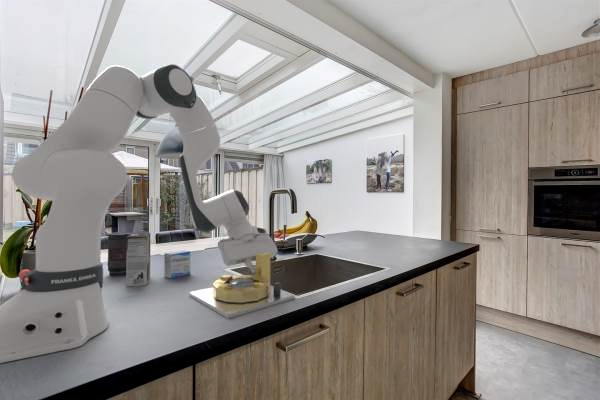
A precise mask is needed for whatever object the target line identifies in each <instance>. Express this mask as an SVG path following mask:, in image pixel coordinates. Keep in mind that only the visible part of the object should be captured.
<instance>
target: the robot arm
mask: <svg viewBox="0 0 600 400" xmlns="http://www.w3.org/2000/svg"><path fill="white" fill-rule="evenodd" d="M166 114H168V115H169V116H170V117H171V118H172V119H173V121H174V122H175V124H176V127H177V131H178V132H179V134H180V136H181V137H180V138H181V139H182V145H183V146H182V147H183V151H182V153H181V154H180V155H179V166H180V167H179V168H180V170H181V171H180V172H181V177H182V180H183V184H184V189H185V193H186V196H187V199H188V200H187V201H188V204H189V210H190V212H189V213H190V219H191V223H192V225H193V226H194V228H195V229H196V230H197V231H199V232H202V233H206V234H209V233H211V232H212V231H214V230H216V229H218V228H219V227H221V226H223V228H224V229H225V230H226V234H227V236H228V238H221V239H220V240H219V241H218V242H217V247H218V249H219V251H220V254H221V258H222V261H223V263H224V265H225V266H227V267H229V266H234V265H235V266H236V265H241V264H244V265H245V266H246V267H247V268H248V269H249V270H251V273H252V274H254V273H255V274H256V264H254V263H252V262H256V254H259V253H264V252H267V253H271V255H270V259H272V258H274V257H275V256H276V255H277V253H278V247H277V245H276V244H275V242H274V240H273V239H272V237H271V236H270V235H267V234H268V230H267V229H266V228H262V227H257V226H254V225H252V224H251V222H250V221H249V220H248V215H249V212H250V206H249V203H248V202H247V200H246V198H245V197H244V194H243V192H241V191H239V190H237V189H235V188H234V189H230V190H228V191H225V192H222V193H220V194H218V195H216V196H214V197H211V198H209V199H205V200H202V196H201V192H200V188H199V185H198V180H197V174H198V172H199V170H200V169H201V168H202V167H203V165H205V164H206V163H207V162H208V161H209V160H210V159H212V158H213V156H214V155H216V154H217V152H218V150H219V148H220V146H221V136H220V133H219V130H218V127H217V125H216V122H215V120H214V118H213V116H212V113H211V112H210V110H209V108H208V106H207V104H206V103H205V101H204V99H203V98H202V97H201V96H200V95H199V94H197V91H196V88H195V85H194V82H193V80H192V78H191V76H190V75H189V74H188V73H187V71H186V70H185V69H183V68H182V67H181V66H179V65H177V64H164V65H161V66H159V67H157V68H156V69H154V70H151V71H150V72H147V73H145V74H143V75H141V76H139V75H138V74H137V73H136V72H135V71H133V70H131V69H130V68H128V67H125V66H122V65H110V66H108V67H106V68H105V70H104V69H103V71H102V72H101V73H100V74H99V75H98V76H97V77H96V78H95V79H93V81H92V82H91V83H90V84H89V85H88V88H87V89H86V90H85V92H84V93H83V95H82V96H81V98H80V99H79V101H78V103H77V104H76V106H74V108H73V110H71V113H70V114H69V116H68V117H66V119H65V120H64V122H62V123H61V124H60V125H59V127H57V128H56V129H55V130H54V131H53V132H52V133H51V134H50V135H48V136H47V138H46V139H44V140H43V141H42V142H41V143H39V145H38V146H37V147H35V149H33V150H32V151H31V152H29V153H28V154H26V155H24V156H23V157H21V158H19V160H17V161H16V162H15V163H14V166H13V167H12V171H11V179H12V181H13V183H14V185H15V187H16V189H18V190H19V191H21V192H22V193H24V194H25V195H26V196H27V195H28V196H30V197H33V198H35V199H39V200H42V201H52V203H51V206H50V210H49V213H48V215H47V217H46V220H45V221H44V222H43V223H42V224H41V225H40V226H39V227H38V229H37V230H36V233H35V268H34V269H32V270H30V269H22V270H20V272H19V273H18V279H19V280H21V288H22V290H21V291H19V292H18V293H16V294H15V295H13V296H12V297H10V298H9V299H8V300H7V301H5V302H3V303H2V304H1V305H0V364H4V363H7V362H12V361H16V360H21V359H27V358H31V357H37V356H41V355H47V354H52V353H56V352H60V351H67V350H71V349H75V348H79V347H81V346H82V345H84V344H86V342H87V341H89V340H90V339H91V338H93V337H95V336H97V335H99V334H101V333H103V331H105V330H106V329H107V328H108V327H109V324H110V323H109V319H108V317H107V314H106V310H105V306H104V300H103V299H104V298H103V294H102V288H103V284H104V267H103V266H104V265H103V263H102V261H101V255H102V254H101V253H102V251H101V246H102V245H101V244H102V229H103V223H104V220H105V217H106V215H107V212H108V210H109V208H110V206H111V204H112V202H113V201H114V199H116V197H118V196H119V195H120V194H121V193H122V192H123V190H124V189H125V187H126V185H127V182H128V173H127V169H126V166H125V163H123V161H122V159H120V158H119V157H118V156H117V155H115V154H114V153H112V152H111V151H114V150H116V149H117V148H118V147H120V145H121V144H122V143H123V140H124V139H125V137H126V136H127V133H128V131H129V129H130V127H131V126H132V124H133V122H134V120H135V118H136V117H138V118H141V119H147V120H150V119H156V118H158V117H159V116H164V115H166ZM110 152H111V153H110Z"/></svg>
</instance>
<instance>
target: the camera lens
mask: <svg viewBox="0 0 600 400" xmlns="http://www.w3.org/2000/svg"><path fill="white" fill-rule="evenodd" d="M131 233H132V232H116V233H109V234H108V235H107V271H108V272H109V274H108V275H109V276H110V277H113V278H114V277H126V258H127V236H128V235H129V234H131Z"/></svg>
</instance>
